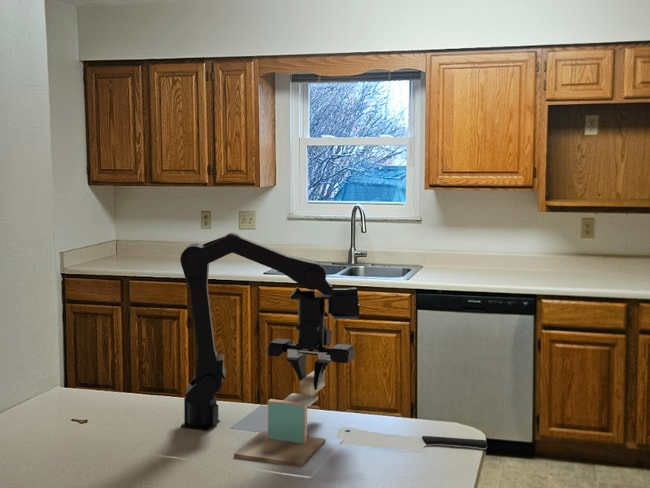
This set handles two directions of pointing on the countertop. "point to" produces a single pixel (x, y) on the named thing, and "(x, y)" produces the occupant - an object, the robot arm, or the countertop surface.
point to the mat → (254, 420)
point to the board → (279, 450)
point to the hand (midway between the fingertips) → (310, 388)
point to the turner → (307, 390)
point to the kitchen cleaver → (403, 440)
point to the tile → (287, 421)
